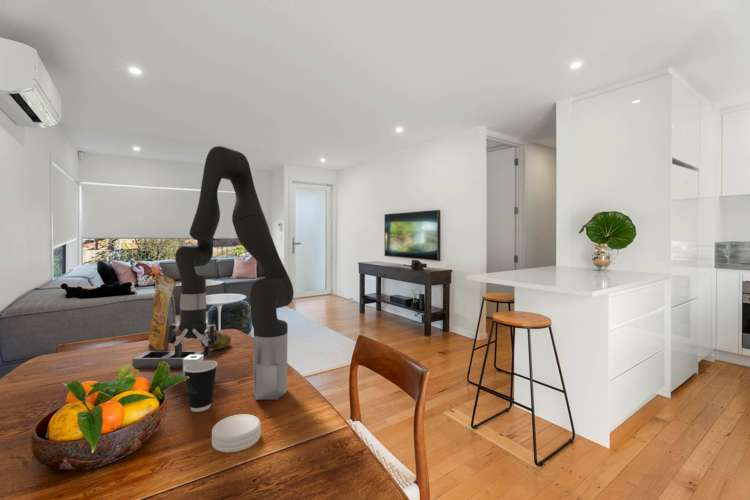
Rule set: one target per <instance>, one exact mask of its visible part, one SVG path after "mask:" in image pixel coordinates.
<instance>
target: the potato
mask: <svg viewBox="0 0 750 500" xmlns="http://www.w3.org/2000/svg"><path fill="white" fill-rule="evenodd" d="M205 332H206V334H207V335H208V338H209V339H210V332H209V331H208V330H206V331H205ZM231 341H232V337H231V336H230V335H229V334H227V333H223V332H222V333H221V332H219V331H217V341H216V342H215V343H214V344H211V349H213V350H216V349H219V350H223V349H222V348H224V349H226V348H228V347H229V346H230V345H231ZM200 343H201V347H203V348H204V346H205V345H204V344H203V342H202V341H200ZM227 346H228V347H227ZM225 347H226V348H225ZM211 349H210V350H211Z"/></svg>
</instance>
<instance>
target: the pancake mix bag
mask: <svg viewBox="0 0 750 500" xmlns="http://www.w3.org/2000/svg"><path fill="white" fill-rule="evenodd" d="M176 282H177V281H176V280H175V279H173V278H171V277H167V276H164V275H158V274H156V275H155V276H154V296H153V297H154V298H153V305H152V311H151V318H150V319H151V320H150V329H149V335H148V342H149V346H150V347H152V348H153V349H154V351H167V350H168V349H169V347H170V346H169V344H170V343H168V339H169V326H170V325H169V324H170V323H169V310H170V305H171V300H172V296H173V293H174V290H175V288H176V285H177V284H176Z"/></svg>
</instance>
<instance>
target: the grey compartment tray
mask: <svg viewBox="0 0 750 500" xmlns="http://www.w3.org/2000/svg"><path fill="white" fill-rule="evenodd" d="M188 355H204V350H182V355H181V356H180V357H176V355H175V350H164V351H163V350H146V351H144V352H143V353H140V354H139V355H137V356H135V357H133V358H132V359H131V361H132V362H131V365H132V366H133V367H134V368H133V369H158V368H157V367H158V365H159V363H160V362H161V361H165V362H167V363H168V365H170V368H169V369H183V359H184V358H186V357H187V356H188ZM137 367H138V368H137Z"/></svg>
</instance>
